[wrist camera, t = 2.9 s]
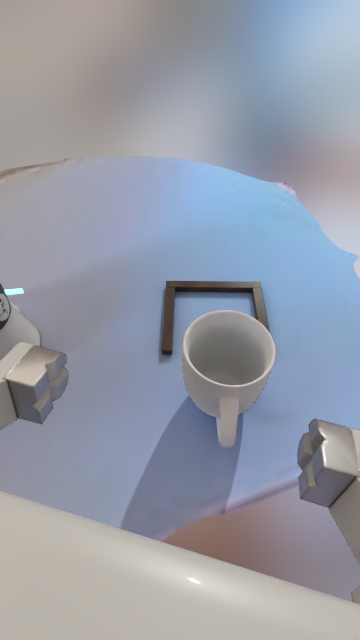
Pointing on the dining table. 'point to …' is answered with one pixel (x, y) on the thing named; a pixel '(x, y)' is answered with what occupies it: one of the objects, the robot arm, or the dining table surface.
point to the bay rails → (207, 287)
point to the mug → (226, 366)
